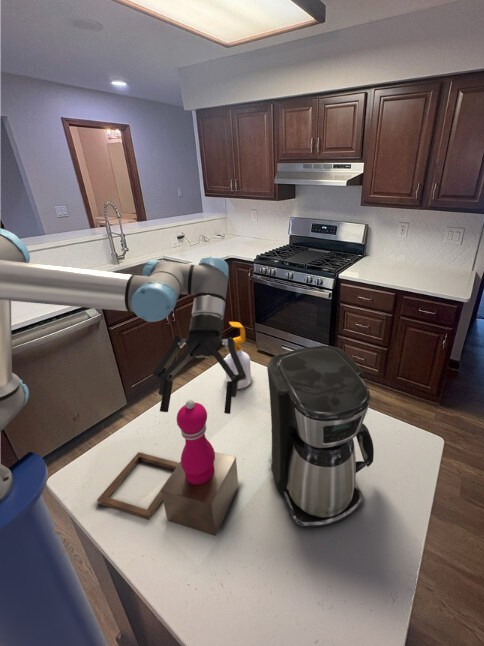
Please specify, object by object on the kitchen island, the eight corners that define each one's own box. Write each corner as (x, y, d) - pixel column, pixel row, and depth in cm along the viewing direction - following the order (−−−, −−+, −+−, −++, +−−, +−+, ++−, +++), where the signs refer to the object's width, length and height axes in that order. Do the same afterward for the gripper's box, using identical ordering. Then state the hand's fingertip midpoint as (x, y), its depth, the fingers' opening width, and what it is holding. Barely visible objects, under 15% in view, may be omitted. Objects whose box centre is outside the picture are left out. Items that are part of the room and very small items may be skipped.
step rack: (98, 504, 73) (87, 473, 69) (139, 456, 86) (132, 428, 82) (213, 541, 66) (209, 509, 62) (240, 482, 78) (237, 453, 75)
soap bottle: (223, 378, 118) (218, 320, 109) (246, 372, 122) (242, 315, 113) (231, 392, 111) (226, 331, 101) (254, 385, 115) (252, 325, 105)
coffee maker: (321, 553, 64) (330, 427, 51) (232, 457, 86) (222, 351, 72) (380, 484, 78) (400, 371, 65) (291, 416, 100) (292, 322, 87)
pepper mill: (216, 483, 67) (208, 410, 60) (182, 490, 66) (168, 416, 58) (216, 456, 74) (208, 387, 66) (184, 461, 72) (172, 392, 65)
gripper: (261, 324, 77) (255, 414, 69) (162, 322, 78) (145, 412, 70) (258, 313, 70) (251, 413, 62) (149, 312, 71) (129, 410, 63)
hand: (195, 412), depth 66 cm, fingers open, 13 cm apart
